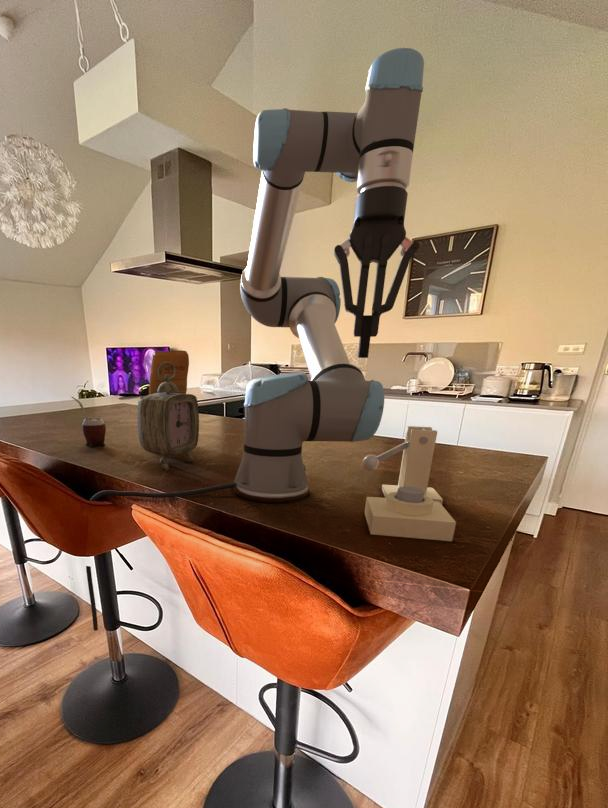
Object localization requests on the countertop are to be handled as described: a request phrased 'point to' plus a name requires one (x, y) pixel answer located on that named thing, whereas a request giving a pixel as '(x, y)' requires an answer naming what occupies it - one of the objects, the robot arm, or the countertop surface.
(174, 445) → the tabletop clock
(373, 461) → the flush lever
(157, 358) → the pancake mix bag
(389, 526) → the cream rectangular base
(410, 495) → the grey round button
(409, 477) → the bracket
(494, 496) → the countertop surface
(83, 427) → the mate gourd
